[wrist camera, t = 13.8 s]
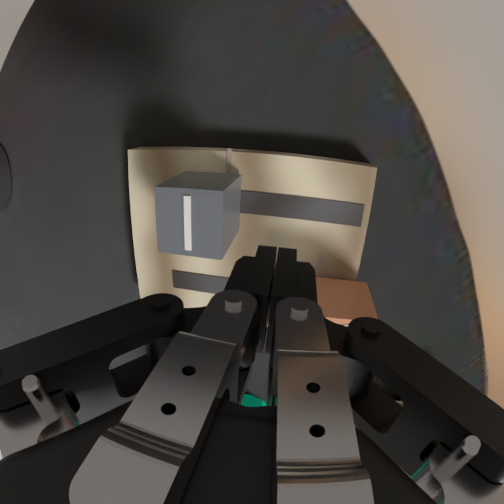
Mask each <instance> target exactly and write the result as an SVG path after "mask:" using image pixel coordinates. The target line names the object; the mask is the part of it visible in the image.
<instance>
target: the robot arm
mask: <svg viewBox="0 0 504 504" xmlns="http://www.w3.org/2000/svg"><path fill="white" fill-rule="evenodd" d="M10 192H11V173H10V166H9V163H8V159H7V156H6V154H5V151H4V150H3V148H2V146H1V145H0V211H1V210H3V209H4V208H5V207H6V205H7V203H8V200H9V198H10ZM276 255H277V261H276ZM275 266H276V267H275ZM267 326H268V329H267ZM266 332H267V338H266ZM265 338H266V348H265V353H269V354H270V361H269V369H268V385H267V406H259V407H246V406H243V405H241V403H242V400H243V397H244V393H245V390H246V387H247V384H248V381H249V378H250V375H251V372H252V365H253V362H254V360H255V356H256V352H260V353H263V349H264V344H265ZM143 345H145V347H146V352H147V354H146V355H144V356H141V357H139V358H137V359H135V360H132V361H130V362H128V363H126V364H123V365H121V366H119V367H116V368H114V369H111V370H109V365H110V363H111V361H112V360H113V359H114V358H116V357H118V356H120V355H122V354H125V353H127V352H129V351H132V350H134V349H136V348H139V347H141V346H143ZM377 377H378V378H379V379H380V380H382V381H383V382H384V383H385V384H386V385H388V386H389V387H390V388H391V389H392V390H394V391H395V392H396V393H397V394H398V395H399V396H400V397H401V399H402V402H403V407H402V406H401V405H400V404H399V403H398V402H396V401H395V400H394V399H393V398H392V397H390V396H389V395H388V394H387V393H386V392H385V391H383V390H382V389H381V388H380V387H379V386H378V385H376V384H375V381H376V379H377ZM354 424H355V425H356V426H357V427H358V428H359V429H360V430H359V429H357V428H356V427H355V425H354ZM0 449H1V453H2V456H3V459H1V460H0V504H490V503H491V502H492V501H493V499H494V497H495V496H496V494H497V492H498V491H499V489H500V488H501V486H502V485H503V484H504V409H502V408H501V407H500V406H499V405H497V404H496V403H495V402H493V401H492V400H491V399H489V398H488V397H487V396H485V395H484V394H483V393H481V392H480V391H479V390H477V389H476V388H475V387H473V386H472V385H470V384H469V383H468V382H466V381H465V380H464V379H462V378H461V377H460V376H458V375H457V374H455V373H454V372H453V371H451V370H450V369H449V368H447V367H446V366H445V365H443V364H442V363H440V362H439V361H438V360H436V359H435V358H433V357H432V356H431V355H429V354H428V353H427V352H425V351H424V350H422V349H421V348H420V347H418V346H417V345H415V344H414V343H413V342H411V341H410V340H408V339H407V338H406V337H404V336H403V335H401V334H400V333H399V332H397V331H396V330H394V329H393V328H392V327H390V326H389V325H387V324H386V323H384V322H383V321H381V320H378V319H376V318H372V317H359V318H355V319H353V320H352V321H351V322H350V323H349V324H348V327H347V326H344V325H340V324H337V323H334V322H332V321H330V320H328V319H327V318H325V317H324V316H323V311H322V308H321V307H320V306H319V305H318V300H317V286H316V274H315V269H314V267H313V266H312V265H311V264H310V263H309V262H300V261H297V249H293V248H284V247H279V248H278V254H277V247H274V246H264V245H258V249H257V252H256V255H255V257H253V256H243V257H241V258H240V259H238V260H237V261H236V262H235V265H234V267H233V269H232V272H231V275H230V277H229V279H228V281H227V284H226V286H225V288H224V291H221V292H219V293H217V294H215V295H214V296H213V297H212V298H211V300H210V301H209V303H208V305H207V306H204V307H196V308H184V304H183V301H182V300H181V299H180V298H179V297H178V296H176V295H173V294H169V293H157V294H152V295H149V296H146V297H144V298H141V299H138V300H136V301H133V302H130V303H128V304H125V305H122V306H119V307H117V308H114V309H111V310H109V311H106V312H103V313H101V314H98V315H95V316H92V317H90V318H87V319H84V320H81V321H79V322H76V323H73V324H71V325H68V326H65V327H62V328H60V329H57V330H54V331H52V332H49V333H46V334H43V335H41V336H38V337H35V338H32V339H30V340H27V341H24V342H21V343H19V344H16V345H13V346H10V347H8V348H5V349H2V350H0ZM400 467H401V468H402V469H403V470H404V471H405V472H406V473H407V474H408V475H409V476H410V477H411V478H410V477H409V476H408V475H407V474H406V473H405V472H404V471H403V470H402V469H401V468H400Z"/></svg>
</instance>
